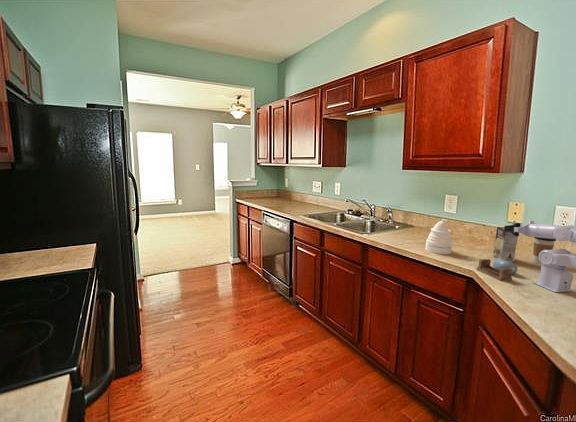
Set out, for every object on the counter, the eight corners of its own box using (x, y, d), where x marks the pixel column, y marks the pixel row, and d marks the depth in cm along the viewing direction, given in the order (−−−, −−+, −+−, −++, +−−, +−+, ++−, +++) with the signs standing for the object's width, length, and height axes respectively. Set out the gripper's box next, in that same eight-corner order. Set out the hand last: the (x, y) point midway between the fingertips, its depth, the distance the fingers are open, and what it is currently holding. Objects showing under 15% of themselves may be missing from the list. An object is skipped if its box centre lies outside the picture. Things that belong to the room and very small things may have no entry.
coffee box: (491, 255, 162) (496, 226, 159) (505, 256, 160) (510, 227, 157) (500, 261, 153) (505, 230, 150) (514, 262, 151) (519, 231, 148)
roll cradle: (487, 269, 142) (489, 258, 141) (511, 279, 129) (513, 268, 128) (476, 269, 140) (478, 259, 140) (499, 280, 128) (501, 269, 127)
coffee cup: (543, 266, 147) (548, 236, 145) (525, 260, 155) (530, 232, 153) (555, 264, 150) (561, 235, 147) (537, 259, 158) (542, 231, 155)
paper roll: (516, 274, 136) (518, 264, 135) (507, 274, 135) (509, 264, 134) (501, 268, 144) (503, 258, 143) (492, 268, 143) (493, 258, 142)
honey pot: (456, 253, 164) (460, 221, 161) (437, 255, 161) (441, 222, 157) (438, 246, 176) (442, 216, 173) (420, 247, 173) (423, 217, 169)
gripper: (556, 221, 128) (524, 219, 141) (528, 221, 124) (499, 219, 138) (555, 238, 128) (524, 235, 141) (528, 238, 125) (498, 234, 138)
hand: (511, 228), depth 139 cm, fingers open, 7 cm apart
